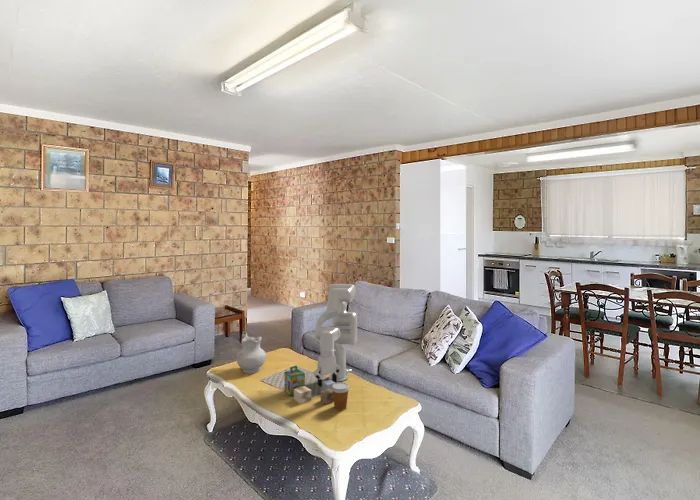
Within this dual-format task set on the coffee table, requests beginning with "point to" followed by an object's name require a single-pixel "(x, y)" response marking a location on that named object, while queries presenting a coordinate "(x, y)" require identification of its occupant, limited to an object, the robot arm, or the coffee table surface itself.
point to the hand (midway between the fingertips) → (327, 383)
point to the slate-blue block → (327, 384)
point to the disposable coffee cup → (340, 395)
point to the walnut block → (327, 396)
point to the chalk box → (294, 380)
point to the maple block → (302, 394)
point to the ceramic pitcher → (251, 354)
